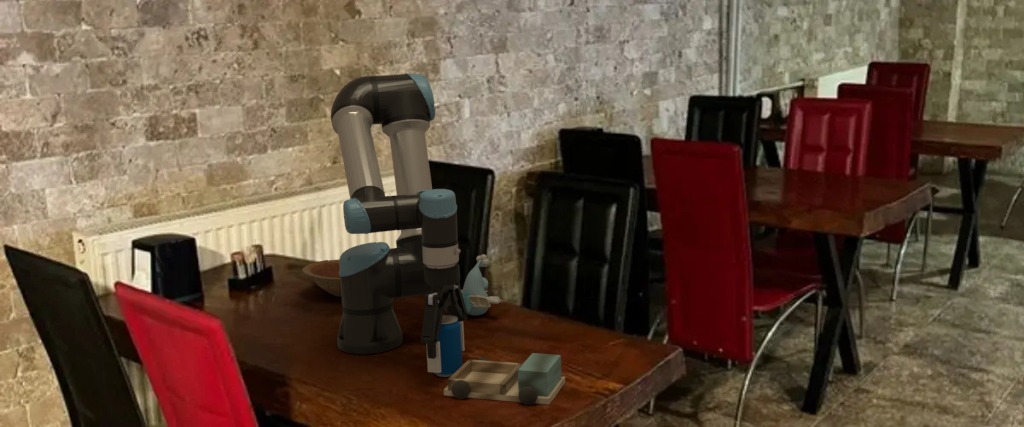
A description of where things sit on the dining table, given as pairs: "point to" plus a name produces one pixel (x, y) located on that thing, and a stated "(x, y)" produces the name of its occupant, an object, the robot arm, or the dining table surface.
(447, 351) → the beverage can
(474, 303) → the toy figure
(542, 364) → the toy truck
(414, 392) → the dining table surface
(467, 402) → the dining table surface
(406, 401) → the dining table surface
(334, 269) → the bowl
